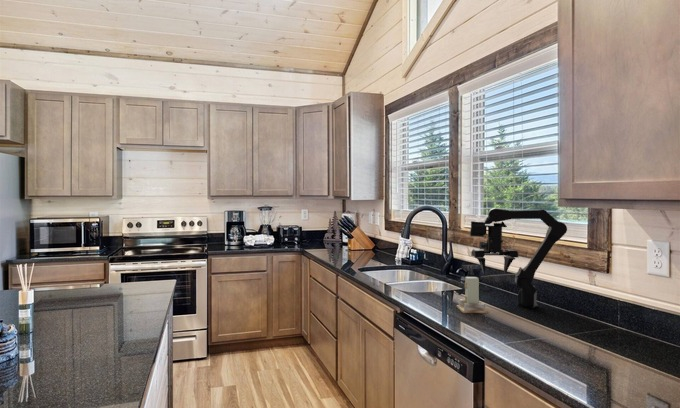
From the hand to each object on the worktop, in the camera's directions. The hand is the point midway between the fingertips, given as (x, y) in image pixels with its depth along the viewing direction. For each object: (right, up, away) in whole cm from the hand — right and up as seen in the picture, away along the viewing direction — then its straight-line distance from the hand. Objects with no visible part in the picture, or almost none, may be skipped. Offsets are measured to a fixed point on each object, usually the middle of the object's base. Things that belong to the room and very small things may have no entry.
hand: (494, 273), depth 188 cm
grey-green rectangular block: (-13, -12, -11) cm, 21 cm away
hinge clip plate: (-13, -13, -11) cm, 21 cm away
